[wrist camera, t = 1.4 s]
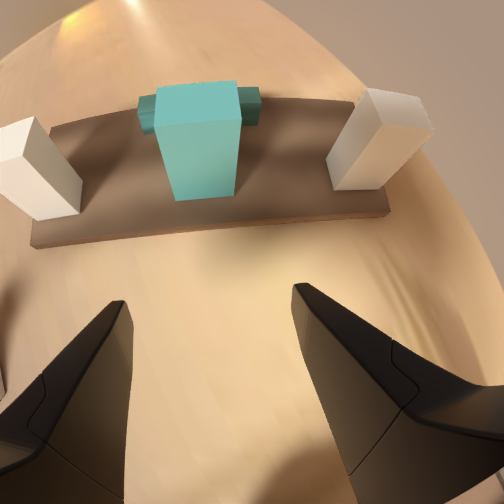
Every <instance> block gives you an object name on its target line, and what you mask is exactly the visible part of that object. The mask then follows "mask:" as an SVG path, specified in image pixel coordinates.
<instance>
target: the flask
mask: <svg viewBox="0 0 504 504" xmlns="http://www.w3.org/2000/svg"><path fill="white" fill-rule="evenodd" d="M4 395H5V391H4V386H3V380H2V374H1V368H0V400H1V399H2V397H3V396H4Z"/></svg>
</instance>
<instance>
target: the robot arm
mask: <svg viewBox="0 0 504 504" xmlns="http://www.w3.org/2000/svg"><path fill="white" fill-rule="evenodd" d="M291 311H292V316H293V320H294V324H295V328H296V331H297V336H298V340H299V344H300V348H301V351H302V355H303V358H304V361H305V364H306V366H307V369H308V371H309V374H310V377H311V379H312V382H313V384H314V387H315V389H316V392H317V395H318V397H319V400H320V402H321V405H322V408H323V410H324V413H325V415H326V418H327V421H328V423H329V426H330V429H331V431H332V434H333V436H334V439H335V442H336V444H337V447H338V450H339V452H340V455H341V457H342V460H343V463H344V465H345V468H346V471H347V473H348V476H350V477H349V479H350V482H351V484H352V487H353V490H354V492H355V495H356V498H357V500H358V503H359V504H504V385H500V386H480V385H476V384H473V383H470V382H468V381H466V380H464V379H462V378H460V377H458V376H456V375H454V374H452V373H450V372H448V371H447V370H445V369H443V368H441V367H439V366H437V365H435V364H433V363H432V362H430V361H428V360H426V359H424V358H423V357H421V356H419V355H417V354H416V353H414V352H413V351H411V350H409V349H408V348H406V347H405V346H403V345H401V344H400V343H398V342H397V341H395V340H392V338H391V337H389V336H388V335H386V334H385V333H383V332H382V331H380V330H379V329H377V328H376V327H374V326H373V325H371V324H370V323H368V322H367V321H365V320H364V319H362V318H360V317H359V316H357V315H356V314H354V313H353V312H351V311H350V310H348V309H347V308H345V307H344V306H342V305H341V304H339V303H338V302H336V301H335V300H333V299H332V298H330V297H329V296H327V295H326V294H324V293H322V292H321V291H319V290H318V289H316V288H315V287H313V286H312V285H310V284H309V283H298V284H294V285H293V289H292V302H291ZM133 331H134V327H133V321H132V318H131V315H130V312H129V309H128V306H127V303H126V302H125V301H124V300H119V301H112V302H110V303H109V304H108V305H107V306H106V307H105V308H104V309H103V310H102V311H101V312H100V313H99V314H98V315H97V316H96V317H95V318H94V319H93V320H92V321H91V322H90V323H89V324H88V325H87V326H86V327H85V328H84V329H83V330H82V331H81V332H80V333H79V334H78V335H77V336H76V337H75V338H74V339H73V340H72V341H71V342H70V343H69V344H68V345H67V346H66V347H65V348H64V349H63V350H62V351H61V352H60V353H59V354H58V355H57V356H56V357H55V359H54V360H53V361H52V362H51V363H50V364H49V365H48V366H47V367H46V368H45V369H44V370H43V371H42V374H39V376H38V377H37V378H36V379H35V380H34V381H33V382H32V383H31V384H30V385H29V386H28V387H27V388H26V389H25V390H24V392H23V393H22V394H21V395H19V396H18V397H17V398H16V399H15V400H14V401H13V402H12V403H11V404H10V405H9V406H8V407H7V408H6V409H5V410H4V411H3V412H2V413H1V414H0V504H124V468H125V447H126V432H127V420H128V409H129V399H130V390H131V381H132V370H133Z"/></svg>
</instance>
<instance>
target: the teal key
mask: <svg viewBox="0 0 504 504" xmlns="http://www.w3.org/2000/svg"><path fill="white" fill-rule="evenodd" d="M241 122H242V117H241V110H240V104H239V97H238V90H237V84H236V81H218V82H203V83H191V84H181V85H172V86H164V87H157V93H156V104H155V117H154V130H155V133H156V137H157V140H158V144H159V147H160V151H161V154H162V158H163V161H164V164H165V168H166V171H167V174H168V178H169V181H170V184H171V188H172V191H173V194H174V197H175V200H176V201H183V200H193V199H204V198H215V197H227V196H234V189H235V178H236V169H237V159H238V149H239V140H240V131H241Z"/></svg>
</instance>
